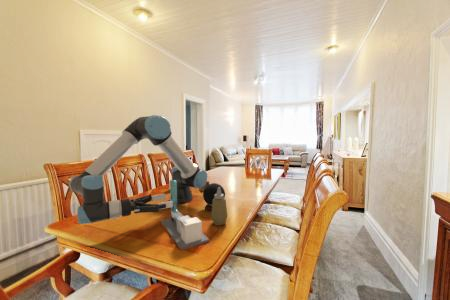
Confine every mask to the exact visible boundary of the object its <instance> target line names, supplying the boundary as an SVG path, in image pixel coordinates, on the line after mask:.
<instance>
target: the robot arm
mask: <svg viewBox="0 0 450 300" xmlns="http://www.w3.org/2000/svg"><path fill="white" fill-rule="evenodd" d="M171 130H172V128H171V124H170V122H169V120H168V119H167V118H166V117H164V116H162V115H156V114H154V115H150V116H149V115H148V116H140V117H138V118H135V120H133V121H131V123H129V124H128V126H126V127H125V128H124V129H123V130H122V131H121V135H120V136H119V137H118V138H117V139H116V140H115V141H114V142H113V143H112V144H111V145H110V146H109V147H108V148H107V149H106V150H104V152H103V153H101V154H100V155H99V156H98V157H97V158H96V159H95V160H94V161H93V162H92V163H91V164H89V166H88V167H87V168H86V169H85V170H83V172H81V173H80V174H79V175H76V176H74V177H72V178H71V179H70V180H69V184H68V186H69V188H70V190H71V191H73V192H74V193H75V194H77V195H78V194H79V195H81V196H82V205H80V206H79V205H78V207H77V213H76V214H77V223H78V224H80V225H88V224H93V223H98V222H102V221H108V220H115V219H118V218H120V217H121V218H123V217H128V216H131V215H132V212H133V213H134V214H141V213H143V214H144V213H159V212H160V211H159V210H163V209H168V208H169V209H171V207H173V201H171V197H169V201H164V200H166V194H165V193H161V194H155V195H152V194H151V193H150V194H147V195H144V196H141V197H137V198H133V199H132V198H131V199H130V198H122V199H120V200H119V199H115V200H110V201H105V190H104V186H105V182H104V175H106V174H107V172H108V171H110V170H111V168H113V166H115V164H116V163H117V162H118V161H120V159H121V158H122V157H123V156H124V155H125V154H126V153H128V151H129V150H130V149H131V148H132V147H133V146H134V145H137V144H139V143H140V141H143V140H144V139H148V140H149V142H150V143H151V144H152V145H154V147H155V146H156V147H157V146H158V148H160V150H161V151H162V152H163V153H164V154H165V155H166V157H168V159H169V160H170V161H171V162H172V164H173V165H174V166H173V167H172V168H171V180H176V181H177V204H182V203H189V202H191V201H192V200H193V198H194V197H193V196H194V195H193V194H192V190H191V188H195V189H199V188H202V187H203V186H204V185H205V184H206V182H207V181H208V173H207V171H206V170H204V169H201V168H199V166H198V165H197V163H193V162H192V161H191V160H190V158H189V157H188V155H186V153H185V152H184V151H183V150H182V148H181V147H180V145H179V144H178V143H177V142H176V140H175V139H174V137H173V136H172V131H171ZM157 201H162V202H159V203H150V202H157ZM163 201H164V202H163Z"/></svg>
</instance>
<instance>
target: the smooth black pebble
mask: <svg viewBox="0 0 450 300" xmlns="http://www.w3.org/2000/svg"><path fill="white" fill-rule="evenodd" d="M218 187H220V189H221V193H222V194H224V199H225V198H226V191H225V189H224V187H223V186H222V185H221V184H219V183H217V182H213V183H209V185H208V186H206V187H205V189H204V191H202V198H203V200H204V203H206V204H205V206H204V210H205V211H207V212H211V213H212V202H213V199H214V195H215V194H217V189H218Z"/></svg>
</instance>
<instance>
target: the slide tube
mask: <svg viewBox="0 0 450 300" xmlns="http://www.w3.org/2000/svg"><path fill="white" fill-rule="evenodd" d="M170 180H171V181H170ZM170 180H169V181H170V189H169V190H170V195H169V196H170V197H171V201H173V207H170V218H171V220H175V221H176V222H177V218H178V217H182V216H183V214H182V213H181V212H180V211H179V210H178V203H177V181H176V180H172V179H170ZM170 197H169V198H170Z"/></svg>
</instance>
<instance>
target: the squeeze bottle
mask: <svg viewBox="0 0 450 300" xmlns="http://www.w3.org/2000/svg"><path fill="white" fill-rule="evenodd" d="M226 201H227V199H225V198H224V194H222V193H221V189H220V187H218V189H217V194H215V195H214V199H213V202H212V212H211V220H212V223H213V225H215V226H224V225H225V224H226V222H227V219H228V208H227V202H226Z"/></svg>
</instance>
